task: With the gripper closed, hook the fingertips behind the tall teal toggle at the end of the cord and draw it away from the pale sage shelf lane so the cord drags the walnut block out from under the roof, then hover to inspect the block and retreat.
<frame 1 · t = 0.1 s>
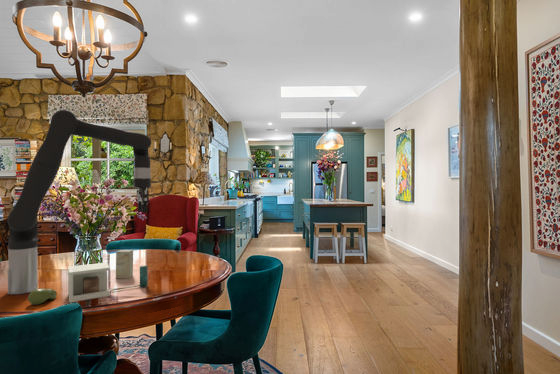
hand: (142, 212, 160), 29 cm above the table, fingers open, 8 cm apart
shelf lane: (91, 294, 130), on the table
skincare box: (124, 277, 156), on the table
block with cord: (116, 279, 135), point 4 cm above the table, slide at 0.0 cm
pear: (43, 302, 123), on the table
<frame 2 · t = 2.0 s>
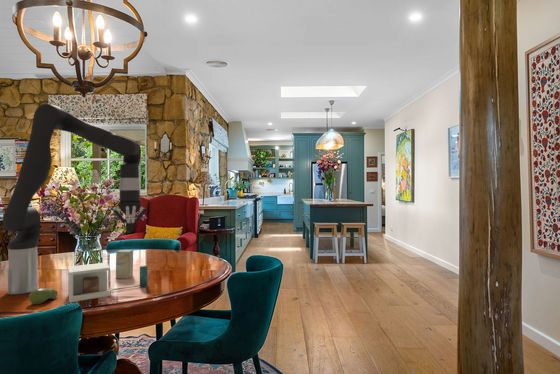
hand: (130, 232, 138), 23 cm above the table, fingers closed
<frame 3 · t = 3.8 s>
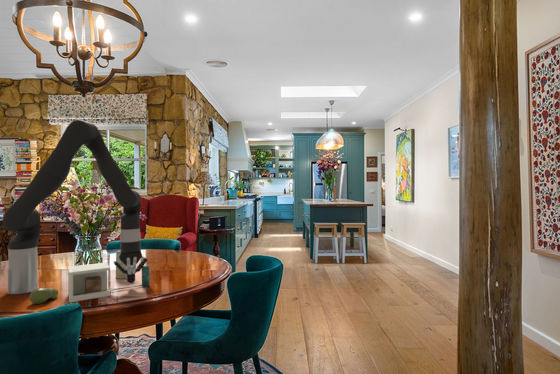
hand: (131, 282, 138), 2 cm above the table, fingers closed
block with cord: (119, 279, 135), point 4 cm above the table, slide at 0.8 cm
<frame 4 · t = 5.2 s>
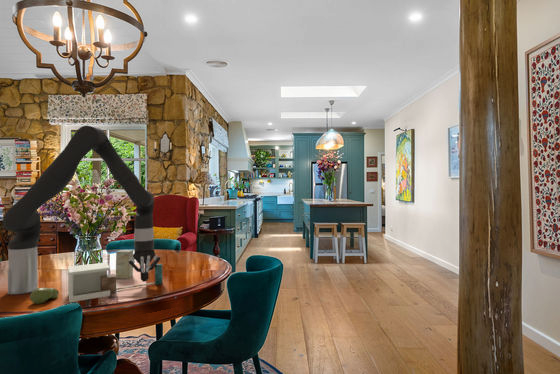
hand: (144, 281, 141), 2 cm above the table, fingers closed
block with cord: (133, 277, 138), point 4 cm above the table, slide at 6.0 cm, touching hand
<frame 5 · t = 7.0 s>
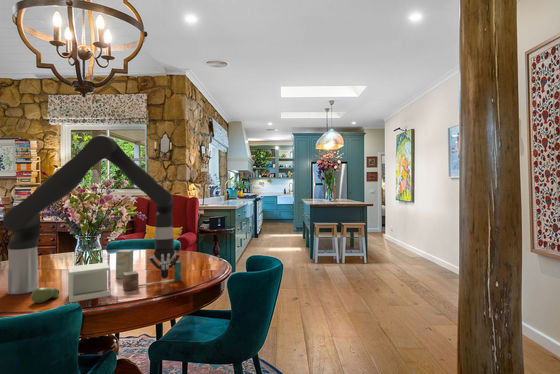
hand: (164, 278, 145), 2 cm above the table, fingers closed
block with cord: (153, 274, 143), point 4 cm above the table, slide at 14.0 cm, touching hand
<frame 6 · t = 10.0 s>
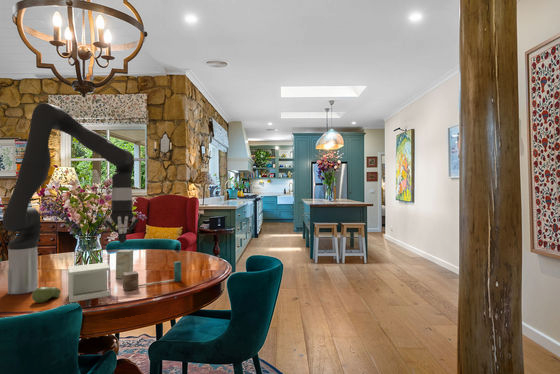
hand: (122, 242, 136), 19 cm above the table, fingers closed
block with cord: (153, 274, 143), point 4 cm above the table, slide at 14.0 cm
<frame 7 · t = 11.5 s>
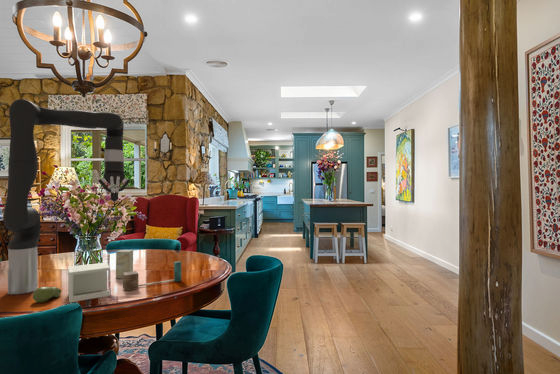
hand: (114, 201, 146), 35 cm above the table, fingers closed
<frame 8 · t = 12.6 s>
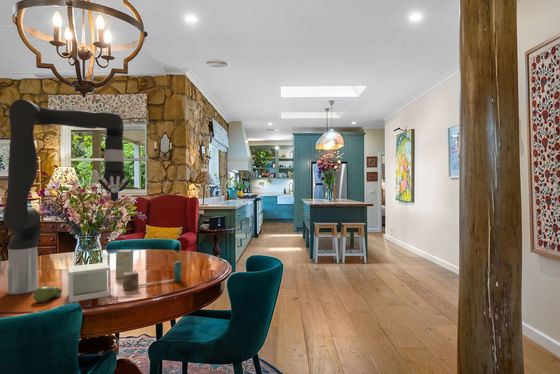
hand: (114, 201, 146), 35 cm above the table, fingers closed
at the end: block with cord slide at 14.0 cm; block with cord 1.8 cm from the target spot, on the table; the gripper is holding nothing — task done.
